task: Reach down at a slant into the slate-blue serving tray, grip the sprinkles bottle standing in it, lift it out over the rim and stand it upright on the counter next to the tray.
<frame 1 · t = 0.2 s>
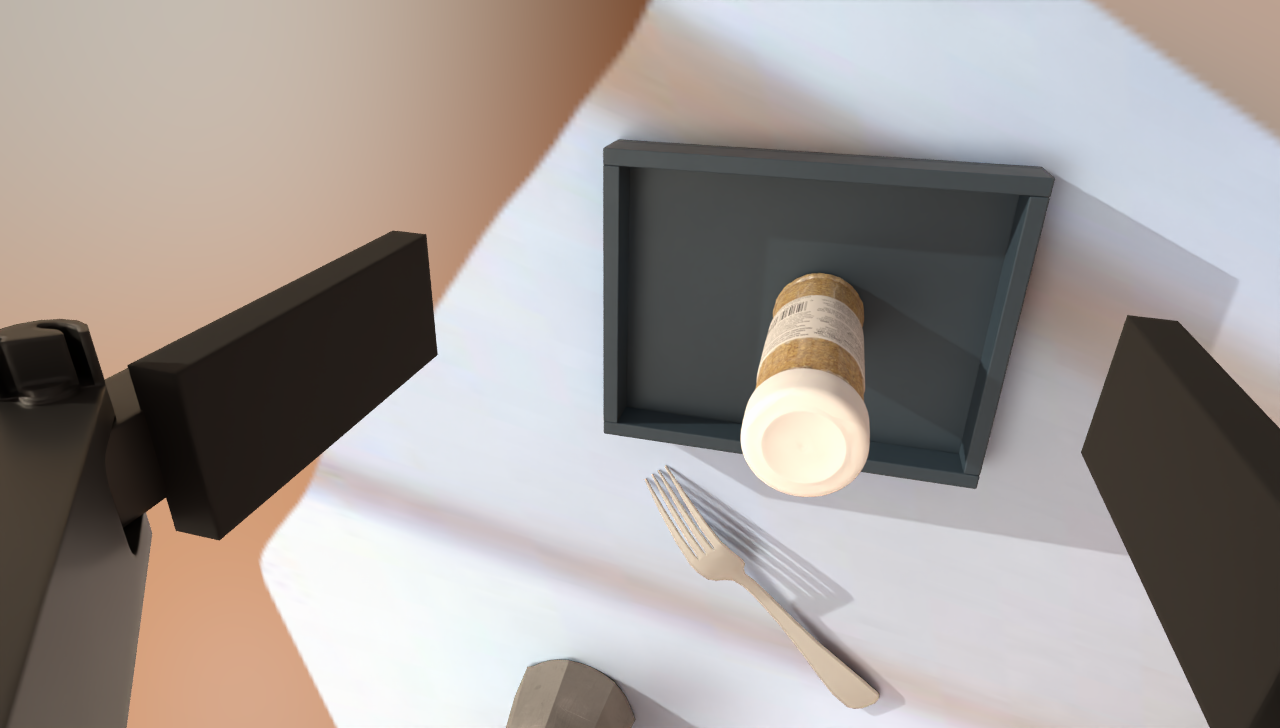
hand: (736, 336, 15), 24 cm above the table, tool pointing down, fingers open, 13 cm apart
coffeepot: (585, 696, 56), on the table
sprinkles bottle: (819, 310, 39), resting on tray
fork: (766, 589, 48), on the table
tray: (799, 306, 40), on the table
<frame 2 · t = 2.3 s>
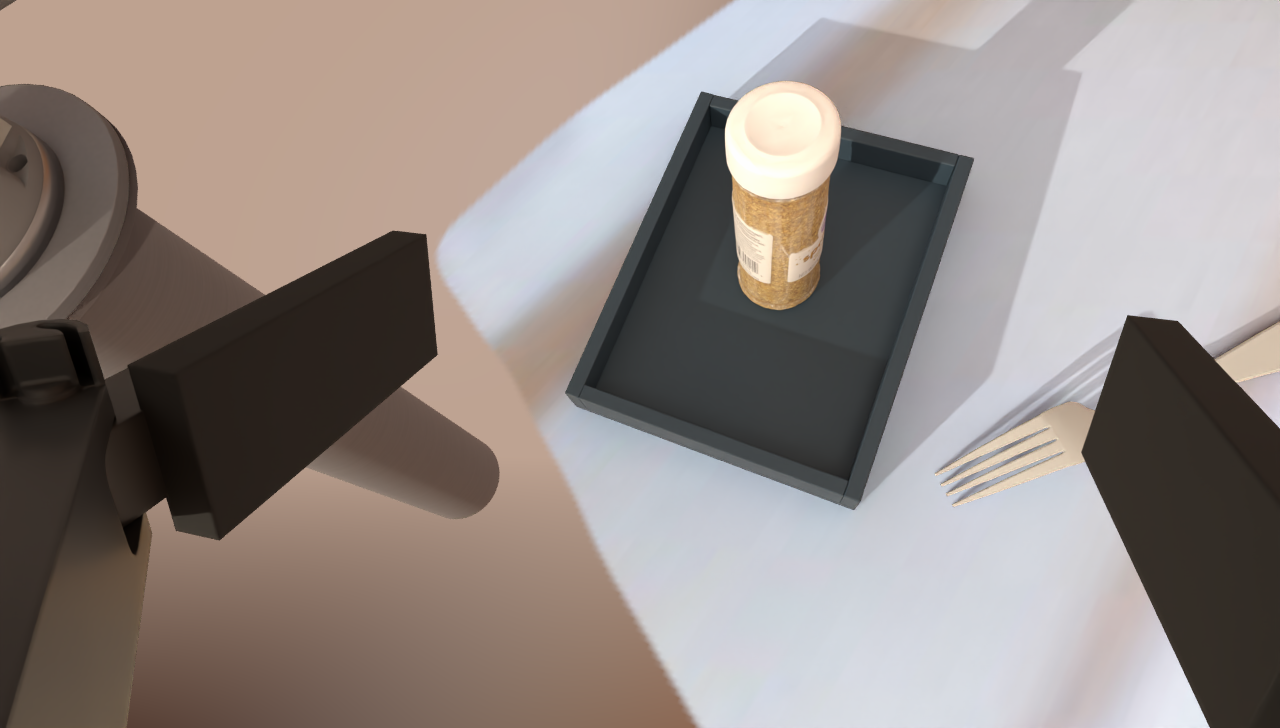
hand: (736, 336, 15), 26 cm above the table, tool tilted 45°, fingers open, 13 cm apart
sprinkles bottle: (777, 275, 43), resting on tray
fork: (1138, 408, 38), on the table
tray: (771, 293, 43), on the table
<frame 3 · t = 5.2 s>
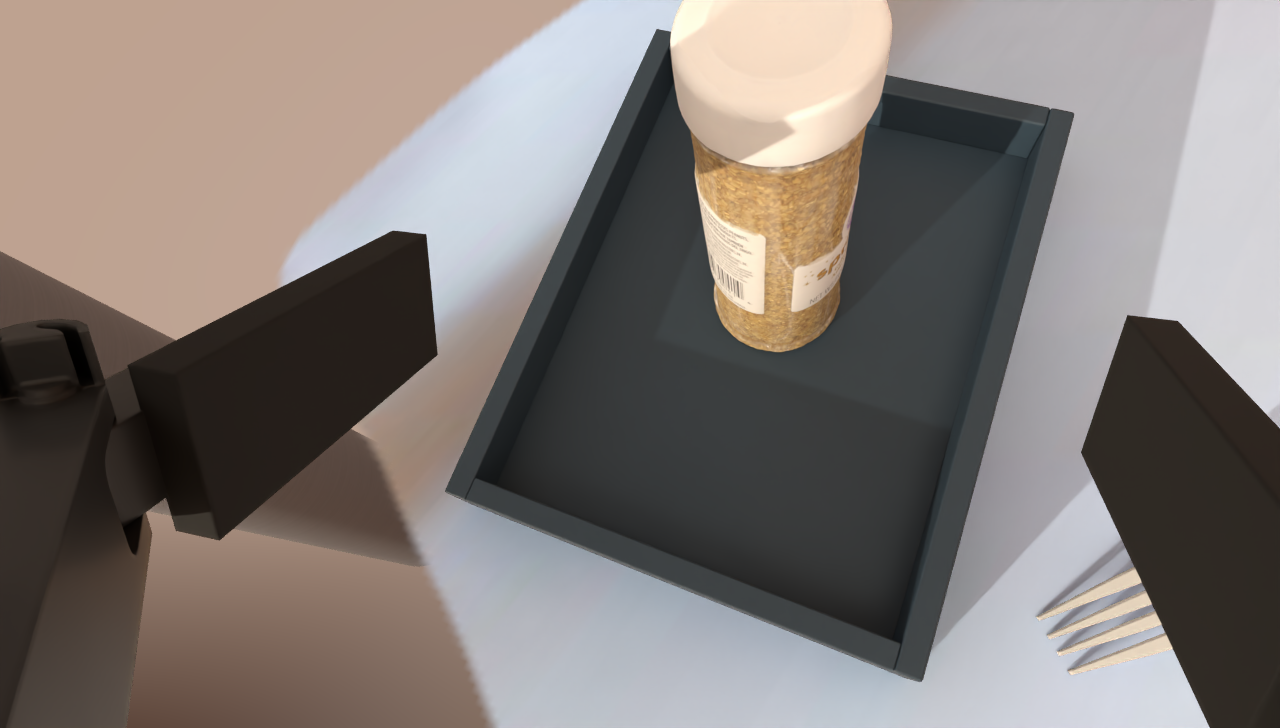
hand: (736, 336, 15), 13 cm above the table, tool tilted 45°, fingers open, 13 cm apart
sprinkles bottle: (775, 298, 28), resting on tray
tray: (766, 326, 28), on the table
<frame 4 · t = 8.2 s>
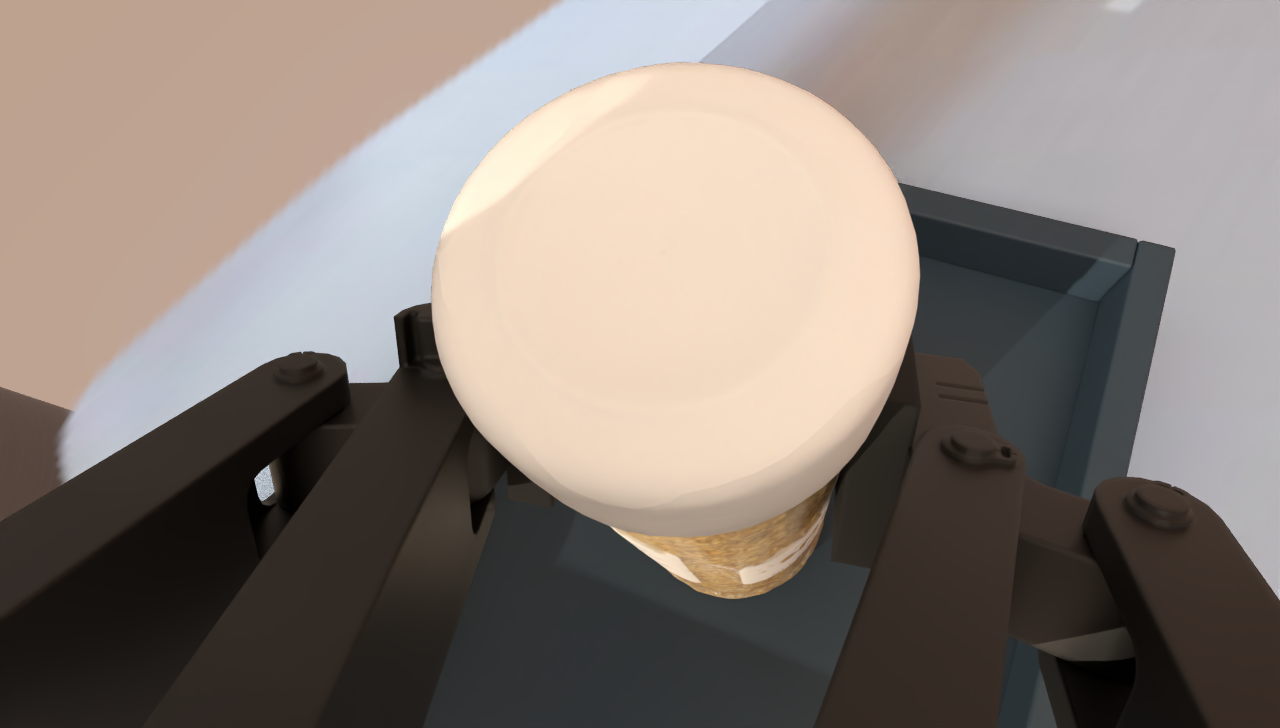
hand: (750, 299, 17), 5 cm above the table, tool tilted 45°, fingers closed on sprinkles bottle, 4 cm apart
sprinkles bottle: (730, 505, 19), resting on tray, touching gripper
tray: (718, 544, 19), on the table
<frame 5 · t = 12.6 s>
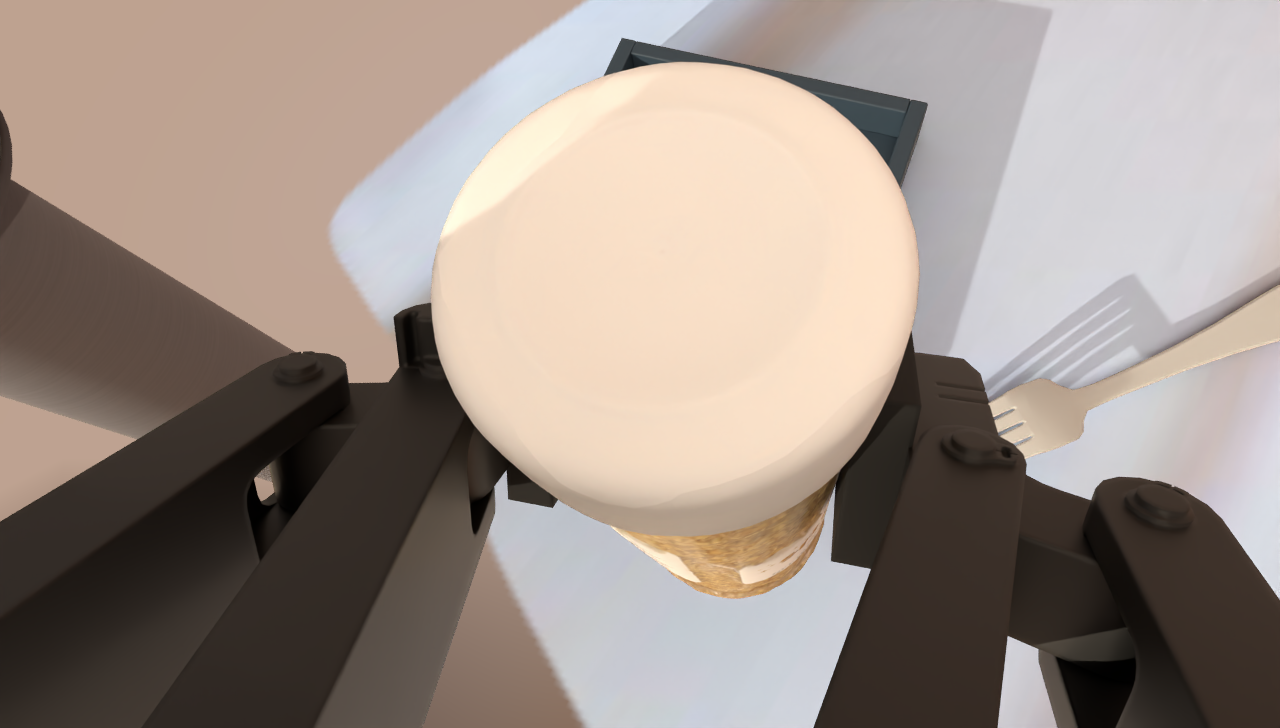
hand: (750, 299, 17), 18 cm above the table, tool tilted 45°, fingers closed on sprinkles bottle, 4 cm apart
sprinkles bottle: (730, 505, 19), point 14 cm above the table, touching gripper
fork: (1121, 386, 33), on the table
tray: (700, 263, 37), on the table
when the fingers open (4 cm above the table, at t = 17.3 s): sprinkles bottle stays where it is, on the table.
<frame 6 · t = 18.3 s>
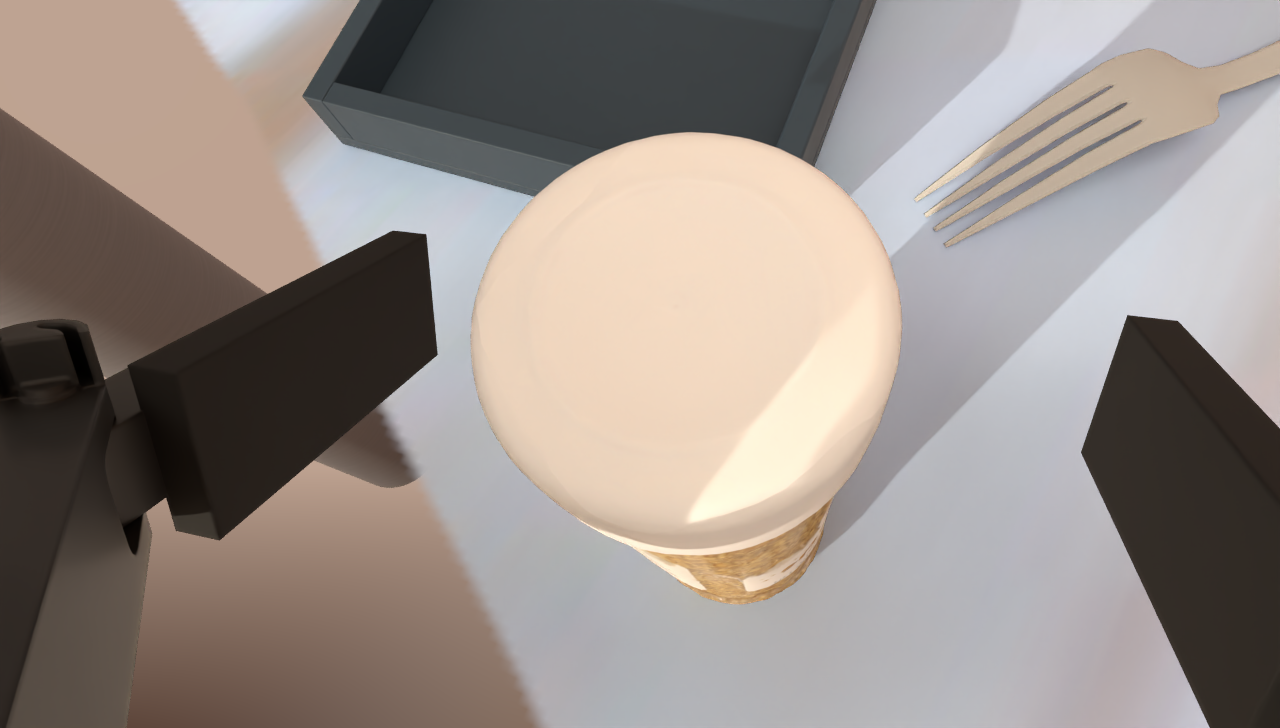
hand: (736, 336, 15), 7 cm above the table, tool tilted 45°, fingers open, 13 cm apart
sprinkles bottle: (734, 514, 20), on the table
fork: (1261, 78, 22), on the table
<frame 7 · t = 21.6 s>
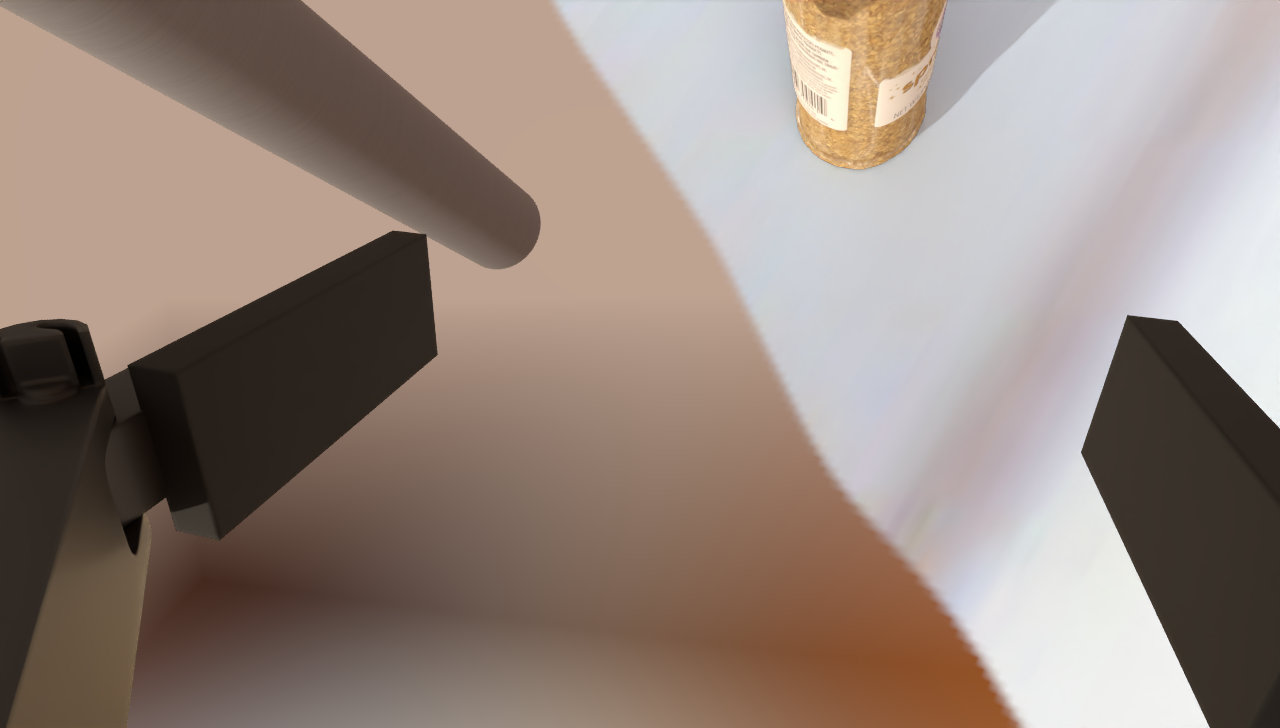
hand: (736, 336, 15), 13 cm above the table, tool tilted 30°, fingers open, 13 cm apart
sprinkles bottle: (858, 113, 28), on the table
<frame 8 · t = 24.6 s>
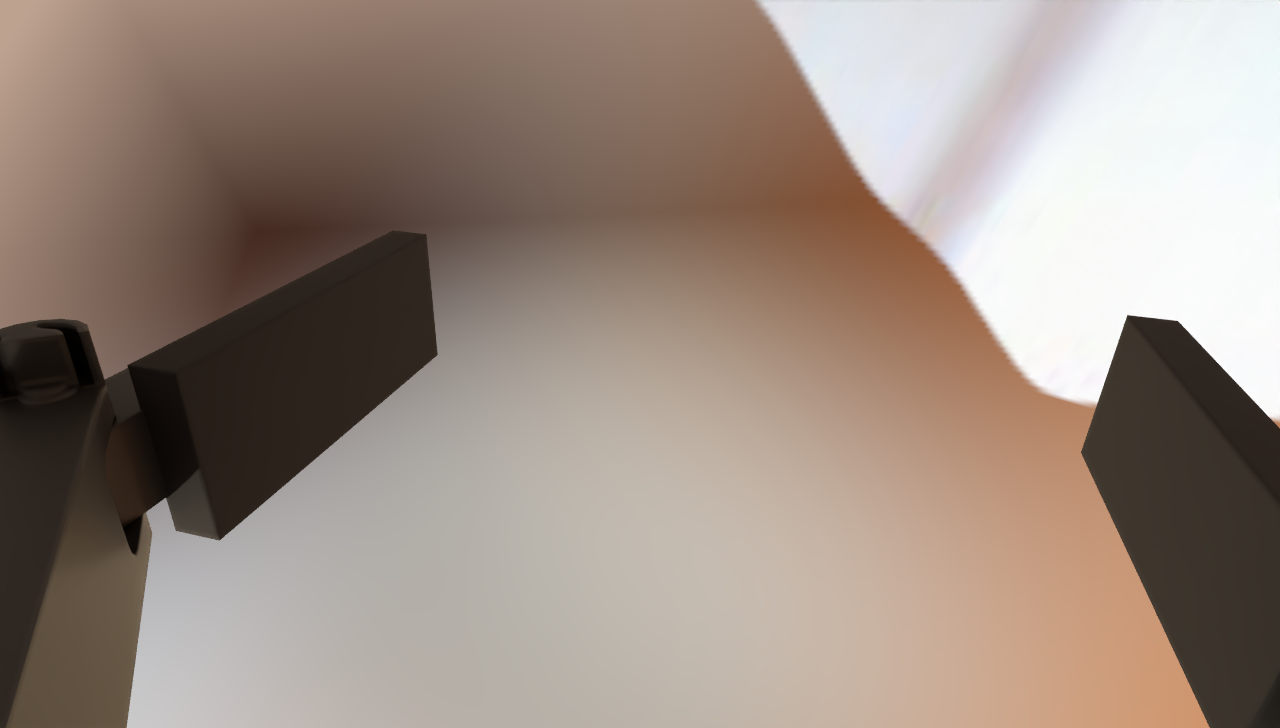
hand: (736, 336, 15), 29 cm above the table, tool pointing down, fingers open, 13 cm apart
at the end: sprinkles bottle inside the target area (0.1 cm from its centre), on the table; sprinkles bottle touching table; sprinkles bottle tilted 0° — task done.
